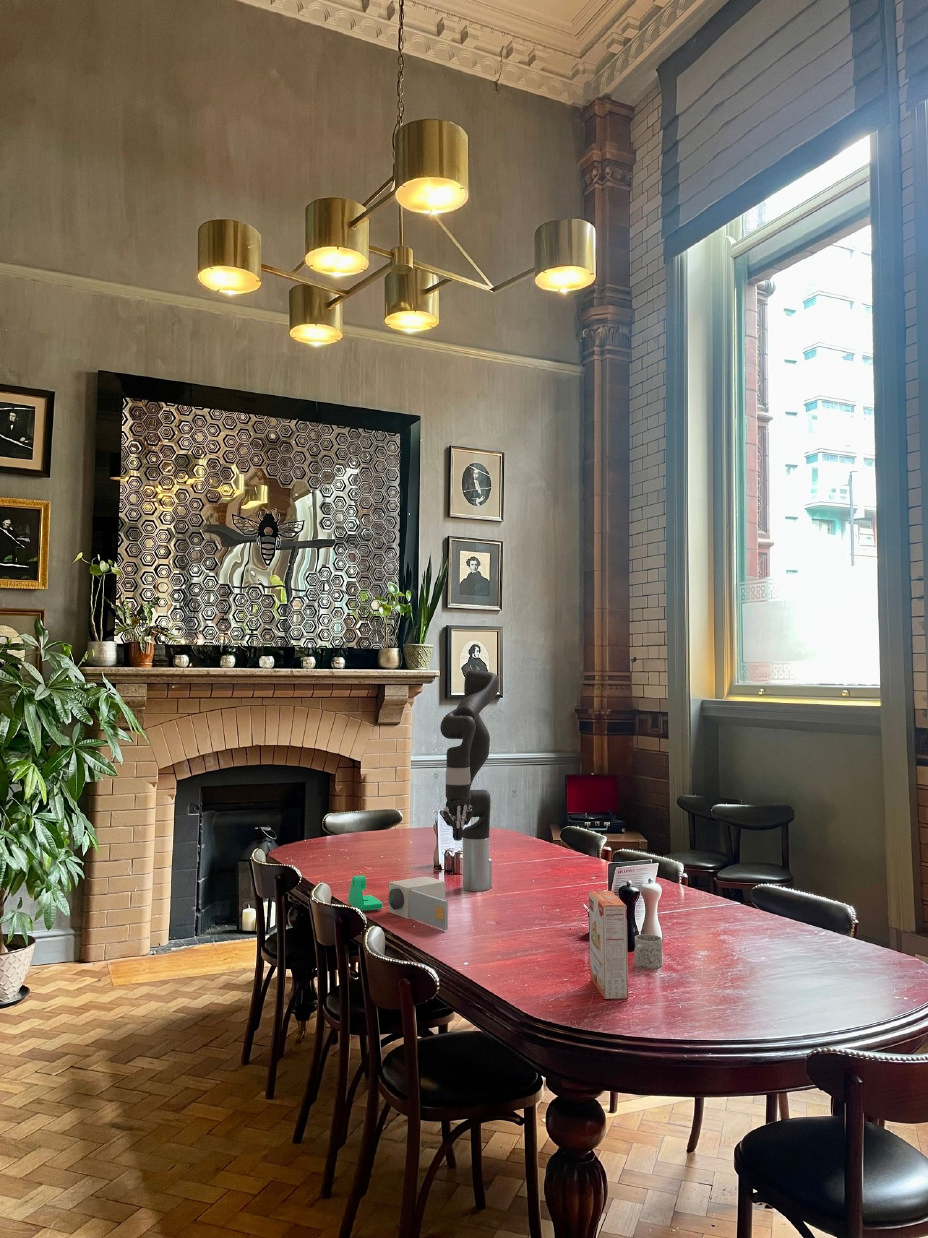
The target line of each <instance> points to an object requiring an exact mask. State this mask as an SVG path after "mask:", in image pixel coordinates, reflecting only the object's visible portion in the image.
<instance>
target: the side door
mask: <svg viewBox="0 0 928 1238" xmlns="http://www.w3.org/2000/svg"><path fill="white" fill-rule="evenodd" d="M448 904H449V901H448V900H446V899H445V900H443V899H440V898H437V897H434V896H431V895H427V894H424V893H421V892H418V891H415V890H409V919H412V920H415V921H417V922H420V923H424V924H426V925H429V926H432V927H434V928H436V929H440V930H443V931H447V930H449V925H448V924H449V923H448V921H449V919H448V918H449V917H448V916H449V915H448V914H449V911H448V910H449V907H448V906H449V905H448Z"/></svg>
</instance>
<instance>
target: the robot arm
mask: <svg viewBox="0 0 928 1238" xmlns="http://www.w3.org/2000/svg"><path fill="white" fill-rule="evenodd" d="M499 680H500V679H499V676H498V675H497V674H496V672H495V673H494V672H492V671H483V670H474V669H471V670H470V669H469V670H468V671H467V672H466V675H465V676H464V683H463V684H464V686H463V687H464V688H463V689H464V690H463V695H464V696H463V697H464V698H463V699H462V700H461V701H460V702H459V703H458V705H457V707H456V708H454V709H453V710H451V711H450V712H448V713H447V714H446V715H445V716H444V717H443V718H442V720H441V722H440V727H439V728H440V729H439V730H440V734H441V735H442V736H443V738H445V739H449V740H462V742H461V744H459V745H457V746H451V747H449V748H447V750H446V770H445V798H446V802H445V807H444V808H443V809H440V810H439V815H440V816H441V817H442V820H443V821H444V822H445V823H446V826H449V827H451V828H452V839H453V840H454V841H462V889H463V890H465V891H470V892H483V891H487V890H490V889H491V888H493V881H492V880H493V868H492V867H493V863H492V861H493V860H492V859H491V858H490V830H491V829H490V822H491V807H492V806H491V803H492V802H491V794H490V792H489V790H487V789H471V786H472V784H473V781H474V779H475V777H476V775H477V774H478V773H479V771H480V770H481V768H482V767H483V765H484V764H485V763H486V761H487V760H488V757H489V755H490V746H491V736H490V733H489V732H490V731H489V730H488V728H487V726H486V725H485V722H484V720H482V717H481V716H480V713H481V712H482V711H483V709H484V708H486V707H487V706H488V705H489V704H490V703H491V702H492V701H493V700H494V699H495V698H496V696H497V694H498V692H499V684H500V681H499ZM472 818H478V819H477V821H475V822H474V823H473V824H471V825H469V824H470V821H471V820H472ZM466 825H467V826H466ZM465 826H466V827H465Z"/></svg>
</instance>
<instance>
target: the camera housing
mask: <svg viewBox="0 0 928 1238" xmlns="http://www.w3.org/2000/svg"><path fill="white" fill-rule="evenodd" d="M409 890H415V891H418V892H421V893H424V894H427V895H431V896H434V897H437V898H440V899H443V900H446V881H444V880H441V879H437V878H434V877H430V876H426V875H425V876H420V877H412V878H407V879H400V880H396V881H395V880H394V881H389V882H388V912H389V913H391V914H393V915H396V916H399V917H402V918H405V919H406V920H408V919H410V918H409Z"/></svg>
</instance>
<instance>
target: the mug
mask: <svg viewBox="0 0 928 1238" xmlns="http://www.w3.org/2000/svg"><path fill="white" fill-rule="evenodd" d="M633 950H634V952H633V962H634V966H635V967H636V968H639V969H645V970H658V969H660V968H662V967H663V939H662V937H661V936H659V935H655V934H650V933H649V934H646V933H643V934H637V935H635V936H634V949H633Z"/></svg>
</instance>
